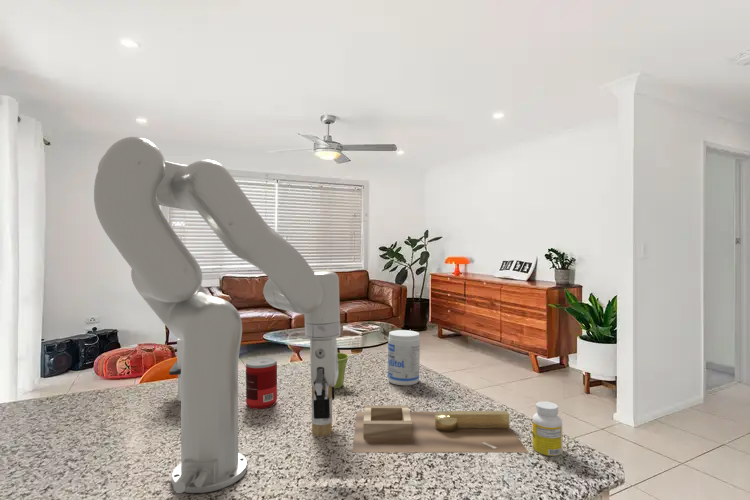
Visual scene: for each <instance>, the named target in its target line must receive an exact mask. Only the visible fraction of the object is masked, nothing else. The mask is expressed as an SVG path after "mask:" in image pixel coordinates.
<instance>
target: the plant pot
mask: <svg viewBox="0 0 750 500" xmlns="http://www.w3.org/2000/svg"><path fill="white" fill-rule="evenodd" d="M337 357H338V378H337V381H336V384H335V386H334V390H335V389H340V388H342V387H343V386H344V382H345V381H344V380H345V375H346V366H347V362H348V359H349V358H350V356H349V354H347V353H342V352H337Z"/></svg>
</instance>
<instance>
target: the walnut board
mask: <svg viewBox="0 0 750 500" xmlns="http://www.w3.org/2000/svg"><path fill="white" fill-rule="evenodd" d="M409 412H410V417H411V422H412V438H363V423H364V411H356V416H355V423H354V424H355V425H354V433H353V441H352V451H351V452H352V453H529V451H528V449H527V448H526V447H525V445H524V444H523V443H522V441H521V440H520V438H519V437H518V436H517V434H516V433H515V431H514V430H513V429H512V428H511V427H510V426H509V428H458V429H457V430H454V431H442V430H439V429H437V428H436V427H435V413H437V412H438V411H409Z"/></svg>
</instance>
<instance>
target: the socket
mask: <svg viewBox="0 0 750 500" xmlns="http://www.w3.org/2000/svg"><path fill="white" fill-rule="evenodd" d="M363 412H364V423H363V438H412V422H411V417H410V412H411V411H410V409H409V405H392V404H391V405H383V404H382V405H379V404H378V405H364V411H363Z"/></svg>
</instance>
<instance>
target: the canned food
mask: <svg viewBox="0 0 750 500" xmlns="http://www.w3.org/2000/svg"><path fill="white" fill-rule="evenodd" d="M277 400H278V361H277V359H276V358H273V357H257V358H252V359H249V360H247V361H246V363H245V403H246V406H247V407H248V408H249V409H253V410H263V409H267V408H270V407H273V406H274V405H276V403H277Z"/></svg>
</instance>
